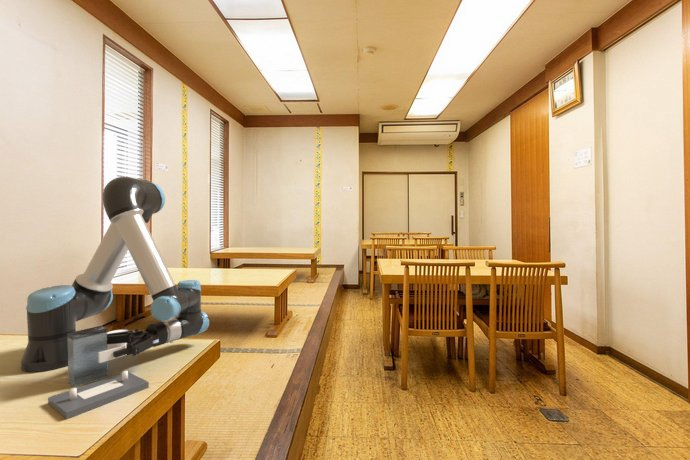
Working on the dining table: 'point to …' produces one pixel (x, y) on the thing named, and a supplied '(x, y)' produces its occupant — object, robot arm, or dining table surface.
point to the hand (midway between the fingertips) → (87, 352)
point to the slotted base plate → (96, 394)
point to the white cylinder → (111, 346)
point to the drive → (86, 355)
